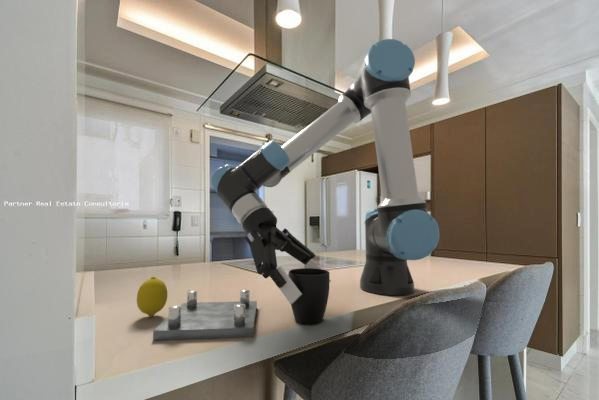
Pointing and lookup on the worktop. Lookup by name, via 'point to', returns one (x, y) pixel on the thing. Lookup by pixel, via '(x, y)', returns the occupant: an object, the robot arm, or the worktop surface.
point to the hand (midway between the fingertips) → (313, 291)
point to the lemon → (152, 296)
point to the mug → (310, 294)
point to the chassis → (208, 319)
